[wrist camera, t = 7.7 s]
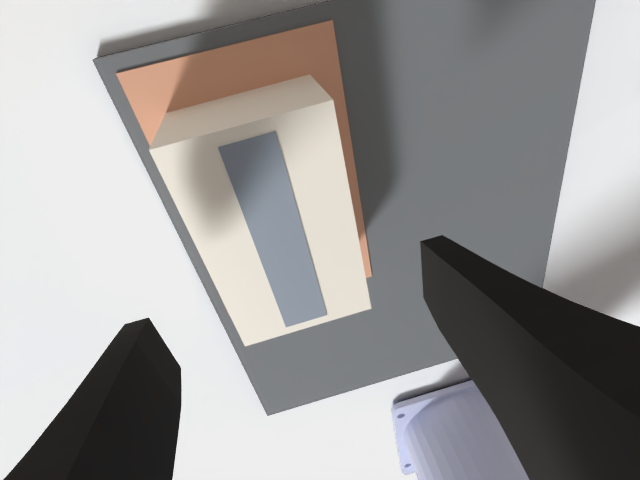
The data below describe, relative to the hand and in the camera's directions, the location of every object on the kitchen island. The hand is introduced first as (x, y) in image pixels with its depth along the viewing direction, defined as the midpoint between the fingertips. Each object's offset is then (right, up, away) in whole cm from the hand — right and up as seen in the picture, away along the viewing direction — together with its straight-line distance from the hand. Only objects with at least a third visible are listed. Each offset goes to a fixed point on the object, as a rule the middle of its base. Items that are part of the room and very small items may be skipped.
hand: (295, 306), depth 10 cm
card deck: (-1, +4, +5) cm, 6 cm away
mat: (+4, +2, +8) cm, 9 cm away
